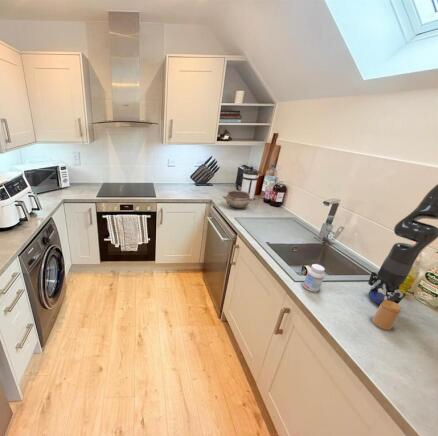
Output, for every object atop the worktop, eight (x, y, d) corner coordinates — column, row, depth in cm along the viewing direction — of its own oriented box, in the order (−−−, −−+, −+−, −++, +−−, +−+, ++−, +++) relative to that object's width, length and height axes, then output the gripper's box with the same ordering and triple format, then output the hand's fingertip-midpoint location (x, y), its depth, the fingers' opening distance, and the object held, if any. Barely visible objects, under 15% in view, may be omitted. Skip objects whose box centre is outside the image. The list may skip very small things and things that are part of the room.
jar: (383, 319, 89) (394, 300, 86) (395, 330, 85) (406, 310, 81) (368, 317, 90) (378, 298, 86) (379, 329, 85) (390, 309, 81)
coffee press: (253, 196, 224) (259, 165, 212) (255, 202, 210) (262, 168, 198) (234, 195, 228) (239, 164, 216) (235, 200, 214) (240, 167, 202)
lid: (371, 301, 96) (372, 298, 95) (367, 292, 101) (368, 289, 100) (390, 306, 94) (392, 303, 93) (385, 297, 98) (387, 294, 98)
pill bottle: (300, 282, 109) (307, 262, 104) (315, 284, 108) (322, 263, 103) (306, 291, 104) (313, 270, 99) (321, 293, 102) (329, 272, 98)
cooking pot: (250, 204, 204) (253, 191, 199) (254, 212, 188) (257, 198, 183) (220, 202, 210) (222, 189, 205) (221, 209, 193) (223, 195, 188)
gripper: (371, 257, 98) (355, 289, 105) (399, 280, 85) (380, 314, 92) (391, 259, 97) (374, 290, 104) (423, 282, 84) (401, 316, 91)
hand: (377, 301), depth 98 cm, fingers closed on lid, 6 cm apart
